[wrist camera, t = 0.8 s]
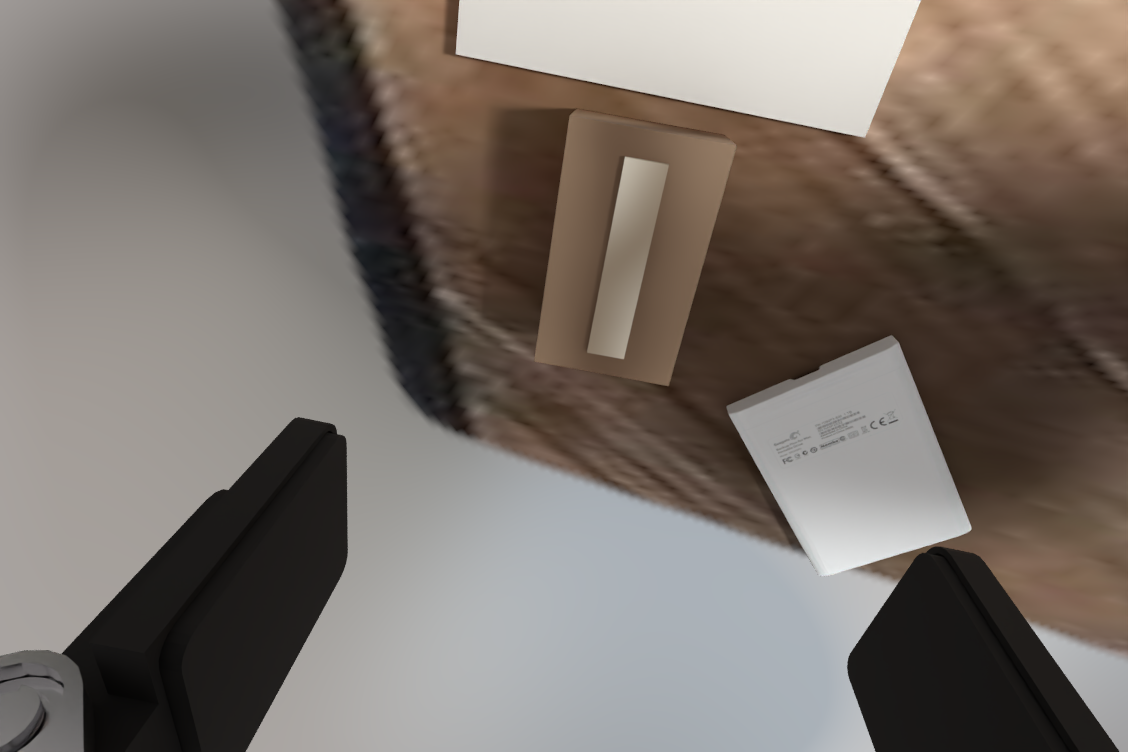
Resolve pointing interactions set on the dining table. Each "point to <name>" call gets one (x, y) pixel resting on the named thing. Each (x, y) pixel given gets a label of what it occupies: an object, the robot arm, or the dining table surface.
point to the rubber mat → (707, 50)
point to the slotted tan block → (629, 243)
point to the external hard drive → (853, 459)
